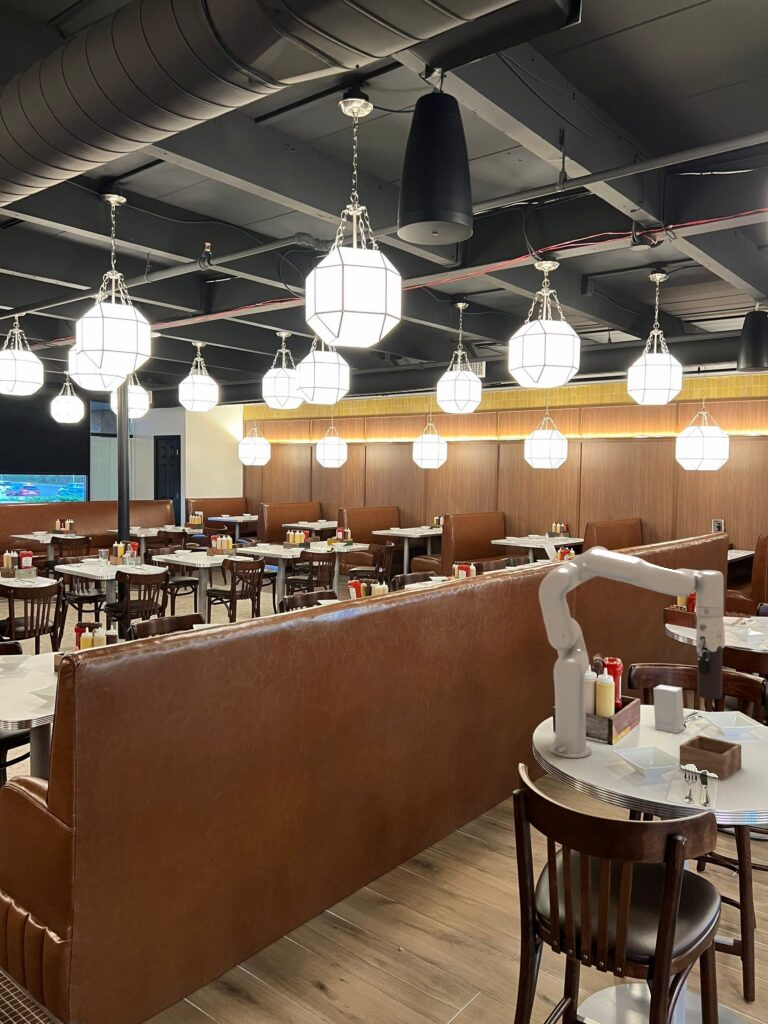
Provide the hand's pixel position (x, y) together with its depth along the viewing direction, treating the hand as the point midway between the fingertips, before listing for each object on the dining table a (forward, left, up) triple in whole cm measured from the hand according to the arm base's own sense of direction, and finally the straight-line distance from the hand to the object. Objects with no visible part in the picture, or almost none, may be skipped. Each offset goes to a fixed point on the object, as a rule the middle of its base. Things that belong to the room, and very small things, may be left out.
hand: (709, 671), depth 224 cm
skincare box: (+26, +25, -30) cm, 47 cm away
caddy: (0, 0, -29) cm, 29 cm away
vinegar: (0, 0, -8) cm, 8 cm away
